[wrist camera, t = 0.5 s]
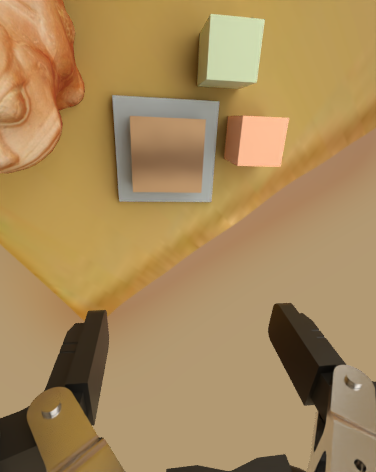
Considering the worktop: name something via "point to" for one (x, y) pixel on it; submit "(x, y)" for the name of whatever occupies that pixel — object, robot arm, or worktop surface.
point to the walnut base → (167, 154)
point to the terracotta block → (255, 140)
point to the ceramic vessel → (34, 79)
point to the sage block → (229, 51)
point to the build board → (167, 109)
